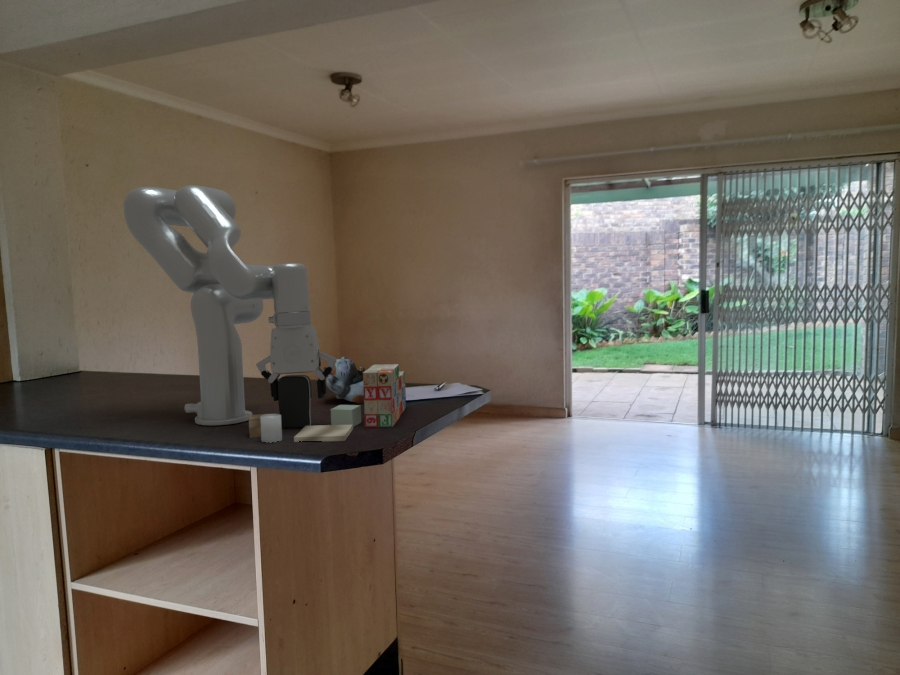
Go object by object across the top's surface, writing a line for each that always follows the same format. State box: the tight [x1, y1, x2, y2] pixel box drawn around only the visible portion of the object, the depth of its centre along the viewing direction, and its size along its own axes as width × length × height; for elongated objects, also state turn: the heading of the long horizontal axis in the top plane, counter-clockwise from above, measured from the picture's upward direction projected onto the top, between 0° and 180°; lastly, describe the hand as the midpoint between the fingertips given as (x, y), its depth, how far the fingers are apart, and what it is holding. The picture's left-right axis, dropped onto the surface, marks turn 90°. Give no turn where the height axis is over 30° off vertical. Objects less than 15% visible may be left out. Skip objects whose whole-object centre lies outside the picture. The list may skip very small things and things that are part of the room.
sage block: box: [330, 404, 362, 428], centre depth 136 cm, size 5×5×4 cm
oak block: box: [248, 413, 267, 439], centre depth 128 cm, size 4×4×4 cm
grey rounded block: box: [260, 413, 283, 444], centre depth 123 cm, size 4×4×5 cm
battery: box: [277, 374, 313, 429], centre depth 135 cm, size 7×4×11 cm, turn 89°
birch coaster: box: [293, 424, 354, 443], centre depth 126 cm, size 10×10×1 cm
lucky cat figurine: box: [322, 356, 367, 405], centre depth 165 cm, size 15×12×14 cm
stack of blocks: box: [363, 363, 407, 428], centre depth 143 cm, size 21×6×12 cm, turn 176°
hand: (299, 398), depth 134 cm, fingers open, 9 cm apart
